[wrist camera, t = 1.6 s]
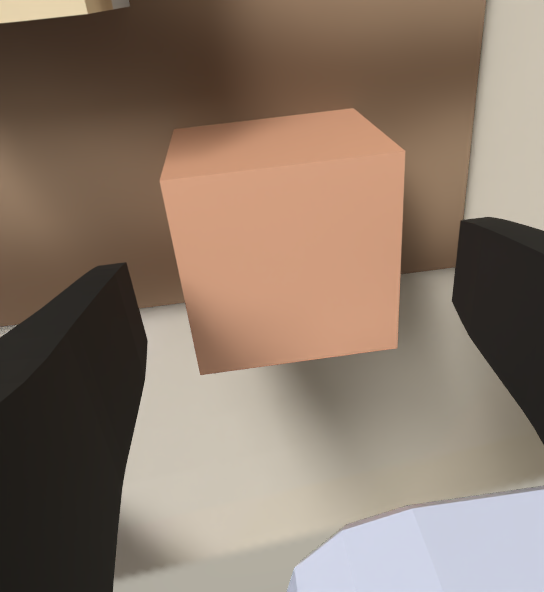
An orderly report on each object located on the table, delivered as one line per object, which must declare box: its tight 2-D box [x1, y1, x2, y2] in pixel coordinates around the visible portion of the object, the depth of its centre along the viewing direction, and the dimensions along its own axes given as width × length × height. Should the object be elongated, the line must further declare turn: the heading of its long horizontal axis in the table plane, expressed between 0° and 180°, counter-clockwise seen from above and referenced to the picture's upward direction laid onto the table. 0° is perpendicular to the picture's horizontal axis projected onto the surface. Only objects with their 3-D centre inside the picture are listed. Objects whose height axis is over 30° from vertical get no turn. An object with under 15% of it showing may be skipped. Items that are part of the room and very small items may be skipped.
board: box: [0, 0, 486, 326], centre depth 13 cm, size 15×20×1 cm
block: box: [160, 108, 405, 375], centre depth 14 cm, size 5×5×4 cm
